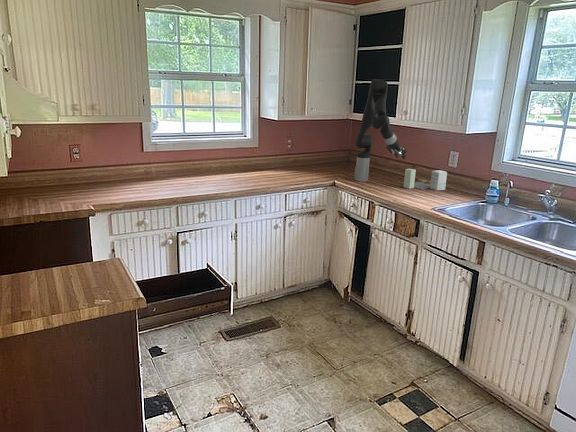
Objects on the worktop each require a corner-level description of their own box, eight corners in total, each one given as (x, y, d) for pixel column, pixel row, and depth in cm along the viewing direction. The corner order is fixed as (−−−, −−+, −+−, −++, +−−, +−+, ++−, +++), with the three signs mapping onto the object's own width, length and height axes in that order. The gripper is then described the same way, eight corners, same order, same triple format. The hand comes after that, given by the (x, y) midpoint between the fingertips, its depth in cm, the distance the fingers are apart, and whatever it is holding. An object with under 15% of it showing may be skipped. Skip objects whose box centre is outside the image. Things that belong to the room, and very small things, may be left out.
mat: (403, 185, 318) (403, 184, 318) (417, 182, 328) (417, 182, 328) (422, 189, 306) (422, 188, 306) (436, 186, 316) (436, 186, 316)
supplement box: (438, 187, 313) (440, 170, 310) (445, 190, 307) (447, 172, 303) (429, 188, 311) (431, 170, 307) (436, 190, 304) (439, 172, 300)
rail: (417, 182, 328) (418, 179, 327) (419, 182, 329) (419, 179, 328) (436, 186, 316) (437, 183, 316) (437, 186, 317) (438, 183, 316)
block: (403, 187, 310) (405, 169, 306) (407, 186, 313) (409, 168, 309) (409, 189, 306) (411, 170, 302) (413, 188, 309) (415, 169, 305)
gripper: (403, 136, 281) (412, 154, 291) (385, 134, 291) (395, 151, 302) (397, 145, 279) (406, 163, 290) (379, 143, 290) (389, 160, 300)
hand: (400, 157), depth 296 cm, fingers open, 5 cm apart
